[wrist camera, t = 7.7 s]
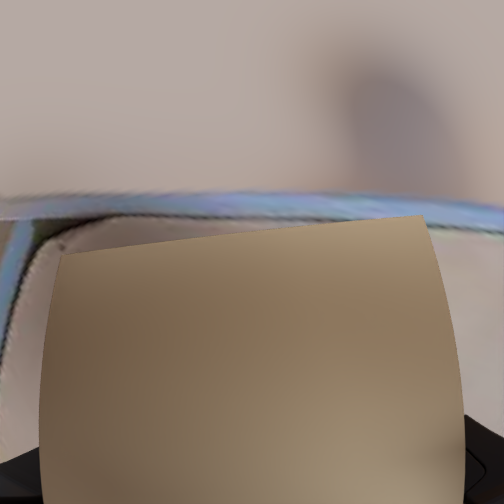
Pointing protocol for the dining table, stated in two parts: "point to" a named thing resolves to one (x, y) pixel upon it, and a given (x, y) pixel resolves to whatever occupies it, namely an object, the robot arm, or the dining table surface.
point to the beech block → (254, 371)
